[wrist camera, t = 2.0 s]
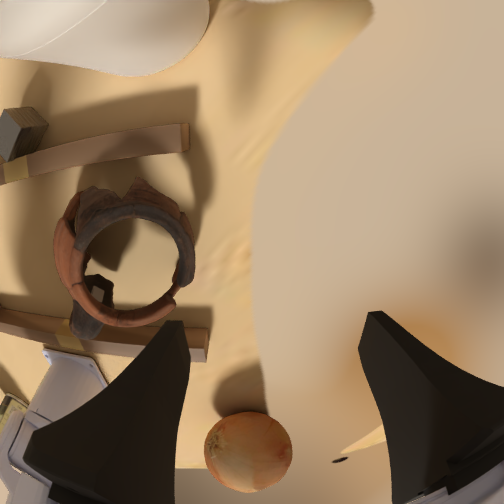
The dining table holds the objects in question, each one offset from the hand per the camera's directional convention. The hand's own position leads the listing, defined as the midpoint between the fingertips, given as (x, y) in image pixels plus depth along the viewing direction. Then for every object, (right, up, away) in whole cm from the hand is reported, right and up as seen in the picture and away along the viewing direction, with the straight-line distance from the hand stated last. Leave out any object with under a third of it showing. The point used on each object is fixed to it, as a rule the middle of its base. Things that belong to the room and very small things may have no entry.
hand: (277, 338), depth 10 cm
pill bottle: (-7, +18, +2) cm, 19 cm away
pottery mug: (-10, +4, +9) cm, 14 cm away
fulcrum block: (-18, +13, +4) cm, 22 cm away
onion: (-2, -16, +19) cm, 25 cm away
